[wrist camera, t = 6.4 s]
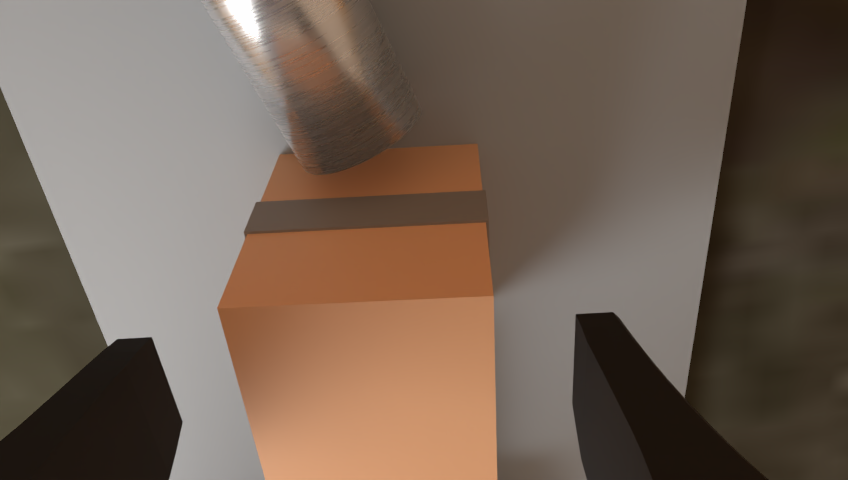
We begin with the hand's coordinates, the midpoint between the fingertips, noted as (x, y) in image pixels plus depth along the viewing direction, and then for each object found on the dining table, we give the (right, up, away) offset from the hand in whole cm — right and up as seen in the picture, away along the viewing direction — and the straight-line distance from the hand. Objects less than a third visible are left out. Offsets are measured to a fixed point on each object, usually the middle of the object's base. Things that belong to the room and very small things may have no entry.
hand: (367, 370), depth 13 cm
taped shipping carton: (0, +2, +3) cm, 4 cm away
